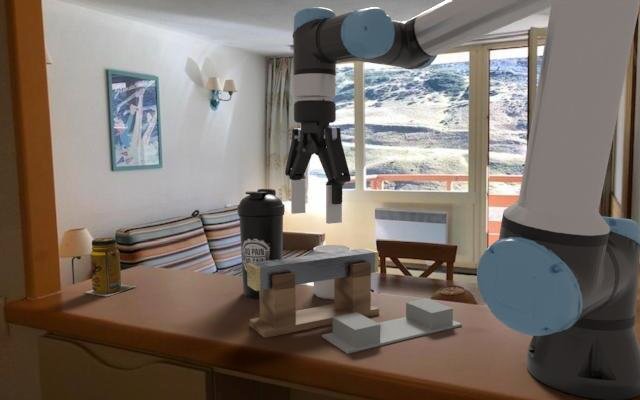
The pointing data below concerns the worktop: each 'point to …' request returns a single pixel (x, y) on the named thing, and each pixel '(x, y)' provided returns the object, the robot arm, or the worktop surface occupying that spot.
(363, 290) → the rack
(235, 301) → the worktop surface
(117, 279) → the condiment
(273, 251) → the water bottle
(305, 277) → the rail
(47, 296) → the worktop surface
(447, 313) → the rest
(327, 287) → the mug
